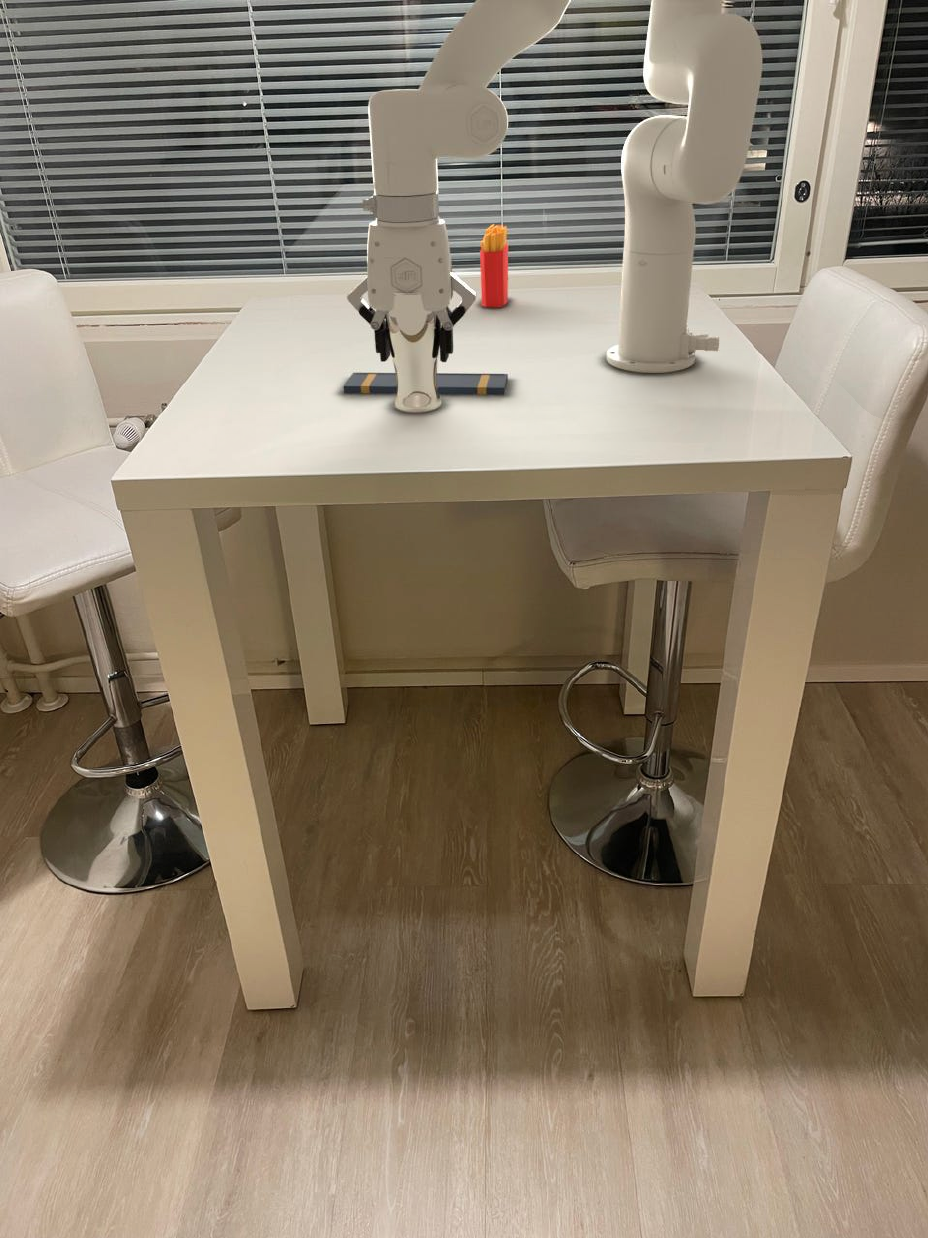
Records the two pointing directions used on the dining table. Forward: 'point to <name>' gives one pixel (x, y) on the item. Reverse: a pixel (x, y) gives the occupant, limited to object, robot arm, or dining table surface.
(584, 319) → the dining table surface
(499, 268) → the french fries
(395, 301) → the beer glass
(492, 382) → the blue striped flat box
